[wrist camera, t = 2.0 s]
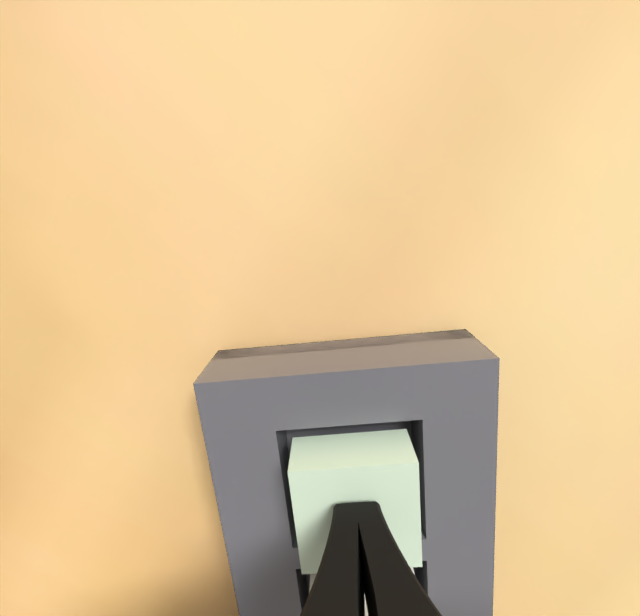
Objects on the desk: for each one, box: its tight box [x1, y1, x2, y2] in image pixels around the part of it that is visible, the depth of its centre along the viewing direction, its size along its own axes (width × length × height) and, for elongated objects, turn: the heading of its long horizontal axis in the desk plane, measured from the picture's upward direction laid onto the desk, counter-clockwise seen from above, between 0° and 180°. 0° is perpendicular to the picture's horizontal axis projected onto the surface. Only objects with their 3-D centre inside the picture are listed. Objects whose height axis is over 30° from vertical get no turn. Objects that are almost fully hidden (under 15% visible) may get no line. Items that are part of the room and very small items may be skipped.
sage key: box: [288, 429, 422, 574], centre depth 13 cm, size 4×4×2 cm
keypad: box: [193, 329, 499, 616], centre depth 16 cm, size 21×10×3 cm, turn 6°
